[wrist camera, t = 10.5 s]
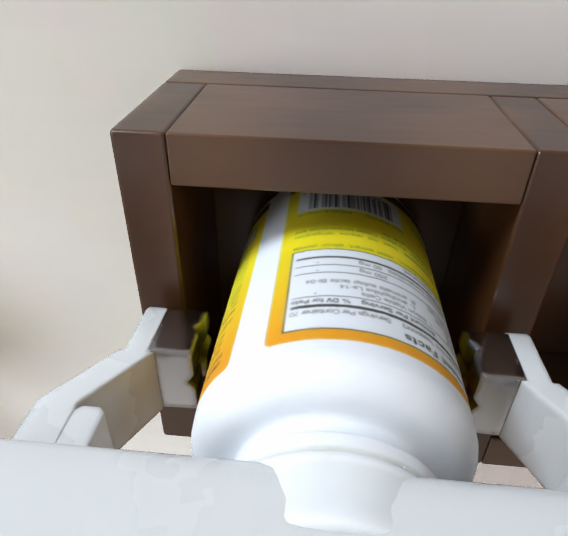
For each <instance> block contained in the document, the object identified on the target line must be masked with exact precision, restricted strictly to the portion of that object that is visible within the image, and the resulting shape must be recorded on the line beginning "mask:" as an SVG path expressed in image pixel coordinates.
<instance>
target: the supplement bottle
mask: <svg viewBox="0 0 568 536" xmlns="http://www.w3.org/2000/svg"><path fill="white" fill-rule="evenodd" d="M191 448H192V455H193V456H198V457H208V458H219V459H230V460H241V461H252V462H260V463H263V464H265V465H268V466H271V467H272V468H273V469H274V470H275V473H276V474H277V476H278V479H279V482H280V484H281V487H282V489H283V491H284V494H285V496H286V505H285V513H284V517H285V519H286V521H287V522H288V523H290V524H293V525H297V526H301V527H305V528H311V529H318V530H324V531H333V532H346V533H357V534H385V533H388V532H390V531H391V529H392V527H393V521H392V513H391V507H392V505H393V503H394V501H395V500H396V497H397V495H398V492H399V490H400V487H401V484H402V482H403V481H404V480H407V479H410V478H415V477H424V478H434V479H445V480H456V481H466V482H472V481H473V479H474V476H475V472H476V469H477V464H478V439H477V433H476V428H475V424H474V418H473V415H472V412H471V408H470V405H469V402H468V397H467V394H466V391H465V388H464V384H463V380H462V377H461V373H460V370H459V366H458V363H457V359H456V356H455V352H454V348H453V345H452V341H451V338H450V334H449V331H448V328H447V324H446V320H445V316H444V313H443V310H442V306H441V303H440V299H439V295H438V292H437V289H436V285H435V281H434V278H433V274H432V271H431V267H430V263H429V260H428V256H427V253H426V249H425V245H424V240H423V238H422V235H421V233H420V230H419V227H418V225H417V223H416V221H415V219H414V218H413V216H412V215H411V213H410V212H409V210H408V209H407V208H406V207H405V206H404V205H403V204H402V203H401V202H400V201H399V200H398V199H397V198H391V197H373V196H355V195H337V194H319V193H302V192H284V191H281V192H280V193H278V194H277V195H276V196H274V197H273V198H272V199H271V200H270V201H269V202H268V203H267V204H266V205H265V206H264V207H263V208H262V209H261V211H260V212H259V214H258V215H257V217H256V218H255V220H254V222H253V224H252V226H251V228H250V231H249V234H248V237H247V240H246V243H245V246H244V250H243V253H242V256H241V260H240V264H239V267H238V271H237V274H236V277H235V280H234V284H233V287H232V291H231V294H230V297H229V300H228V304H227V308H226V311H225V314H224V317H223V321H222V324H221V328H220V331H219V334H218V337H217V341H216V344H215V348H214V352H213V355H212V358H211V361H210V364H209V368H208V371H207V374H206V378H205V381H204V385H203V388H202V391H201V395H200V398H199V402H198V405H197V409H196V413H195V417H194V422H193V427H192V432H191Z"/></svg>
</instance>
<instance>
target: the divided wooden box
mask: <svg viewBox="0 0 568 536" xmlns="http://www.w3.org/2000/svg"><path fill="white" fill-rule="evenodd" d="M110 136H111V141H112V147H113V152H114V158H115V163H116V169H117V174H118V180H119V186H120V191H121V197H122V202H123V208H124V213H125V219H126V224H127V230H128V235H129V241H130V247H131V252H132V258H133V263H134V269H135V274H136V280H137V285H138V291H139V296H140V302H141V308H142V313H143V315H144V313H145V311H146V310H147V309H148V308H149V307H159V308H168V309H169V308H173V309H184V310H194V311H204V312H208V313H209V317H210V327H209V330H208V333H207V334H208V335H209V336H210V337H211V338H212V355H213V352H214V348H215V344H216V341H217V337H218V334H219V331H220V328H221V324H222V321H223V317H224V314H225V311H226V308H227V304H228V300H229V297H230V294H231V291H232V287H233V284H234V280H235V277H236V274H237V271H238V267H239V264H240V260H241V256H242V253H243V250H244V246H245V243H246V240H247V237H248V234H249V231H250V228H251V226H252V224H253V222H254V220H255V218H256V217H257V215H258V214H259V212H260V211H261V209H262V208H263V207H264V206H265V205H266V204H267V203H268V202H269V201H270V200H271V199H272V198H273V197H274V196H276V195H277V194H278V193H280V192H281V191H284V192H302V193H319V194H337V195H355V196H373V197H391V198H397V199H398V200H399V201H400V202H401V203H402V204H403V205H404V206H405V207H406V208H407V209H408V210H409V212H410V213H411V215H412V216H413V218H414V219H415V221H416V223H417V225H418V227H419V230H420V233H421V235H422V238H423V240H424V245H425V249H426V253H427V256H428V260H429V263H430V267H431V271H432V274H433V278H434V281H435V285H436V289H437V292H438V295H439V299H440V303H441V306H442V310H443V313H444V316H445V320H446V324H447V328H448V331H449V334H450V338H451V341H452V345H453V348H454V352H455V355H457V354H458V353H459V352H460V349H459V345H458V341H459V337H460V335H461V333H462V331H478V332H493V333H518V334H528V335H529V336H530V337H531V339H532V341H533V343H534V345H535V347H536V349H537V351H538V353H539V356H540V358H541V360H542V362H543V364H544V366H545V368H546V370H547V372H548V374H549V376H550V378H551V381H552V383H555V384H560V385H561V386H563V387H564V388H565V389H567V390H568V86H565V85H540V84H515V83H490V82H466V81H441V80H416V79H391V78H366V77H342V76H317V75H292V74H267V73H243V72H218V71H193V70H179V71H178V72H176V73H175V74H174V75H173V76H172V77H171V78H170V79H168V80H167V81H166V82H165V83H164V84H163V85H161V86H160V87H159V88H158V89H157V90H156V91H155V92H153V93H152V94H151V95H150V96H149V97H148V98H147V99H145V100H144V101H143V102H142V103H141V104H140V105H139V106H137V107H136V108H135V109H134V110H133V111H132V112H131V113H129V114H128V115H127V116H126V117H125V118H124V119H123V120H121V121H120V122H119V123H118V124H117V125H116V126H115V127H113V128H112V129H111V131H110ZM211 358H212V356H211ZM205 378H206V376H205V377H203V385H204V381H205ZM196 409H197V408H182V407H165V406H163V409H162V410H161V411H160V413H161V419H162V424H163V430H164V433H165V434H166V435H177V436H188V437H191V432H192V427H193V422H194V417H195V413H196ZM499 436H500V435H491V434H482V433H477V439H478V463H479V462H481V461H482V463H483V464H494V465H506V466H517V467H525V466H524V465H523V463H522V462H521V461H520V460H519V459H518V458H517V457H516V455H515V454H514V453H513V452H512V451H511V450H510V449H509V448H508V446H507V445H506V444H505V443H504V442H503V441H502V440H501V439H500V437H499Z"/></svg>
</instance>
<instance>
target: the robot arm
mask: <svg viewBox="0 0 568 536" xmlns="http://www.w3.org/2000/svg"><path fill="white" fill-rule="evenodd" d="M209 327H210V317H209V313H208V312H204V311H194V310H184V309H173V308H169V309H168V308H159V307H149V308H148V309H147V310H146V311H145V313H144V315H143V317H142V319H141V320H140V322H139V324H138V326H137V328H136V330H135V332H134V334H133V336H132V338H131V340H130V342H129V344H128V346H127V348H126V349H119V350H118V351H116V352H114V353H113V354H111V355H110V356H108V357H106V358H105V359H103V360H101V361H100V362H98V363H97V364H95V365H93V366H92V367H90V368H88V369H87V370H85V371H84V372H82V373H80V374H79V375H77V376H75V377H74V378H72V379H71V380H69V381H67V382H66V383H64V384H62V385H61V386H59V387H58V388H56V389H54V390H53V391H51V392H50V393H48V394H46V395H45V396H43V397H41V398H40V399H38V400H37V401H36V403H35V404H34V406H33V407H32V409H31V410H30V412H29V413H28V415H27V416H26V418H25V419H24V421H23V423H22V424H21V426H20V427H19V429H18V430H17V432H16V433H15V435H14V436H13V438H12V439H4V438H0V536H568V390H567V389H565V388H564V387H563V386H561V385H560V384H555V383H552V381H551V378H550V376H549V374H548V372H547V370H546V368H545V366H544V364H543V362H542V360H541V358H540V356H539V353H538V351H537V349H536V347H535V345H534V343H533V341H532V339H531V337H530V336H529V335H528V334H518V333H493V332H478V331H462V333H461V335H460V337H459V341H458V345H459V349H460V352H459V353H458V354H457V355H455V356H456V359H457V363H458V366H459V370H460V373H461V377H462V380H463V384H464V388H465V391H466V394H467V397H468V402H469V405H470V408H471V412H472V415H473V418H474V424H475V428H476V433H482V434H491V435H500V436H499V437H500V439H501V440H502V441H503V442H504V443H505V444H506V445H507V446H508V448H509V449H510V450H511V451H512V452H513V453H514V454H515V455H516V457H517V458H518V459H519V460H520V461H521V462H522V463H523V465H524V466H525V467H526V468H527V469H528V470H529V471H530V472H531V474H532V475H533V476H534V477H535V478H536V479H537V480H538V481H539V483H540V484H541V485H542V486H543V487H544V488H545V489H542V488H531V487H520V486H509V485H498V484H487V483H477V482H466V481H456V480H445V479H434V478H424V477H415V478H410V479H407V480H404V481H403V482H402V484H401V487H400V490H399V492H398V495H397V497H396V500H395V501H394V503H393V505H392V507H391V513H392V521H393V527H392V529H391V531H390V532H388V533H385V534H357V533H346V532H333V531H324V530H318V529H311V528H305V527H301V526H297V525H293V524H290V523H288V522H287V521H286V519H285V517H284V513H285V505H286V496H285V494H284V491H283V489H282V487H281V484H280V482H279V479H278V476H277V474H276V473H275V470H274V469H273V468H272V467H271V466H268V465H265V464H263V463H260V462H252V461H241V460H230V459H219V458H208V457H198V456H187V455H176V454H165V453H155V452H144V451H133V450H122V449H120V448H121V447H122V446H123V445H125V444H126V443H127V442H128V441H129V440H130V439H131V438H132V437H133V436H134V435H135V434H136V433H137V432H138V431H140V430H141V429H142V428H143V427H144V426H145V425H146V424H147V423H148V422H149V421H150V420H151V419H152V418H153V417H155V416H156V415H157V414H158V413H159V412H160V411H161V410H162V409H163V406H165V407H182V408H197V405H198V402H199V398H200V395H201V391H202V388H203V377H205V376H206V374H207V371H208V368H209V364H210V361H211V356H212V338H211V337H210V336H209V335H208V334H207V333H208V330H209Z"/></svg>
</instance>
